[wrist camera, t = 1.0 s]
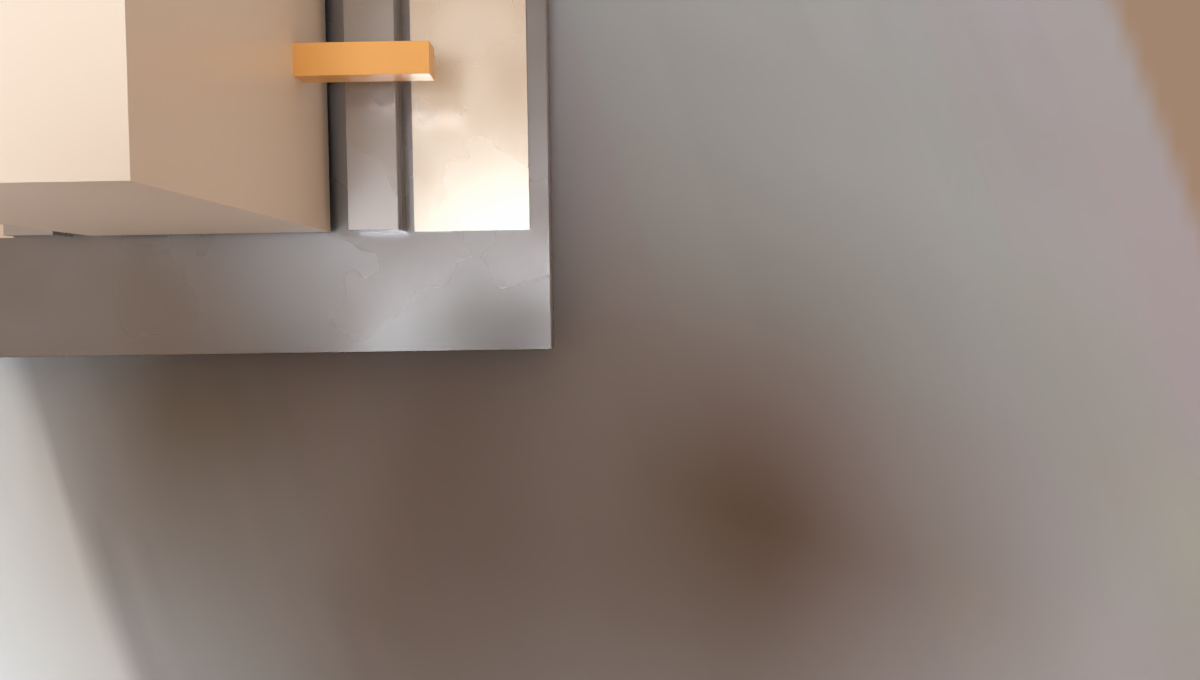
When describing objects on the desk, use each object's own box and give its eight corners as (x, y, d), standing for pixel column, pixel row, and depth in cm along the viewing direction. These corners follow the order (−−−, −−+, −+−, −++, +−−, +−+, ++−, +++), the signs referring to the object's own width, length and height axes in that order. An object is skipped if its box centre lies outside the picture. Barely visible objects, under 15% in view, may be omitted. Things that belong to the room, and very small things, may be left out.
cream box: (451, 230, 21) (337, 176, 12) (-30, 237, 22) (-489, 190, 13) (445, -65, 21) (326, -334, 12) (-42, -56, 21) (-515, -318, 12)
